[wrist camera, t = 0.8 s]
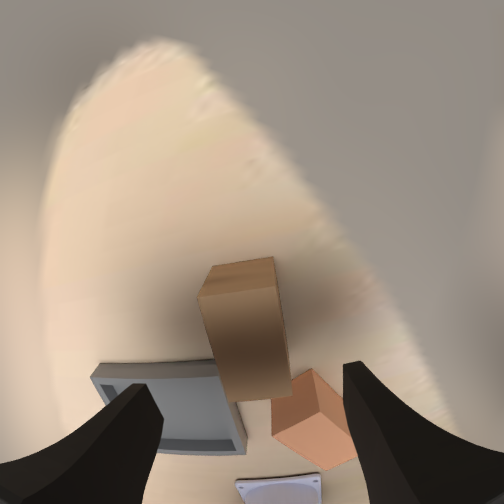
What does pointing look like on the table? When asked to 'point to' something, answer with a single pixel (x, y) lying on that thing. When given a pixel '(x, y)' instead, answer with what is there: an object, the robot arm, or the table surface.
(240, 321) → the walnut brick
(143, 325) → the table surface
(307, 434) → the terracotta brick
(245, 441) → the tray
